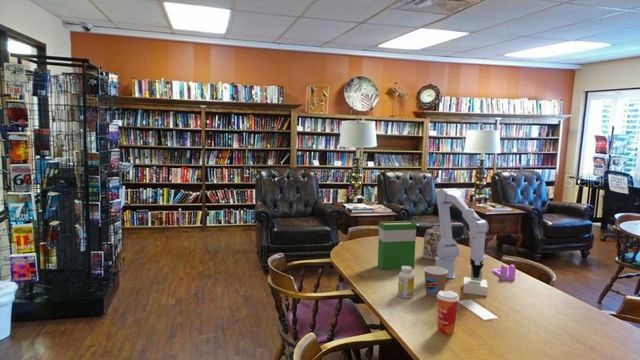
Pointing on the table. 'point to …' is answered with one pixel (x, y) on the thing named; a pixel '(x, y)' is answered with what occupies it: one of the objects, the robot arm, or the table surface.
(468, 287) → the painted block
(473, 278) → the green cube
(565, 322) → the table surface
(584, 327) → the table surface
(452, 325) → the paper cup
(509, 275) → the bracket
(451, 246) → the robot arm
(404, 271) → the supplement bottle
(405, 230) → the green cereal box
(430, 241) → the decorative jar
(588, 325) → the table surface
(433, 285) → the coffee cup
